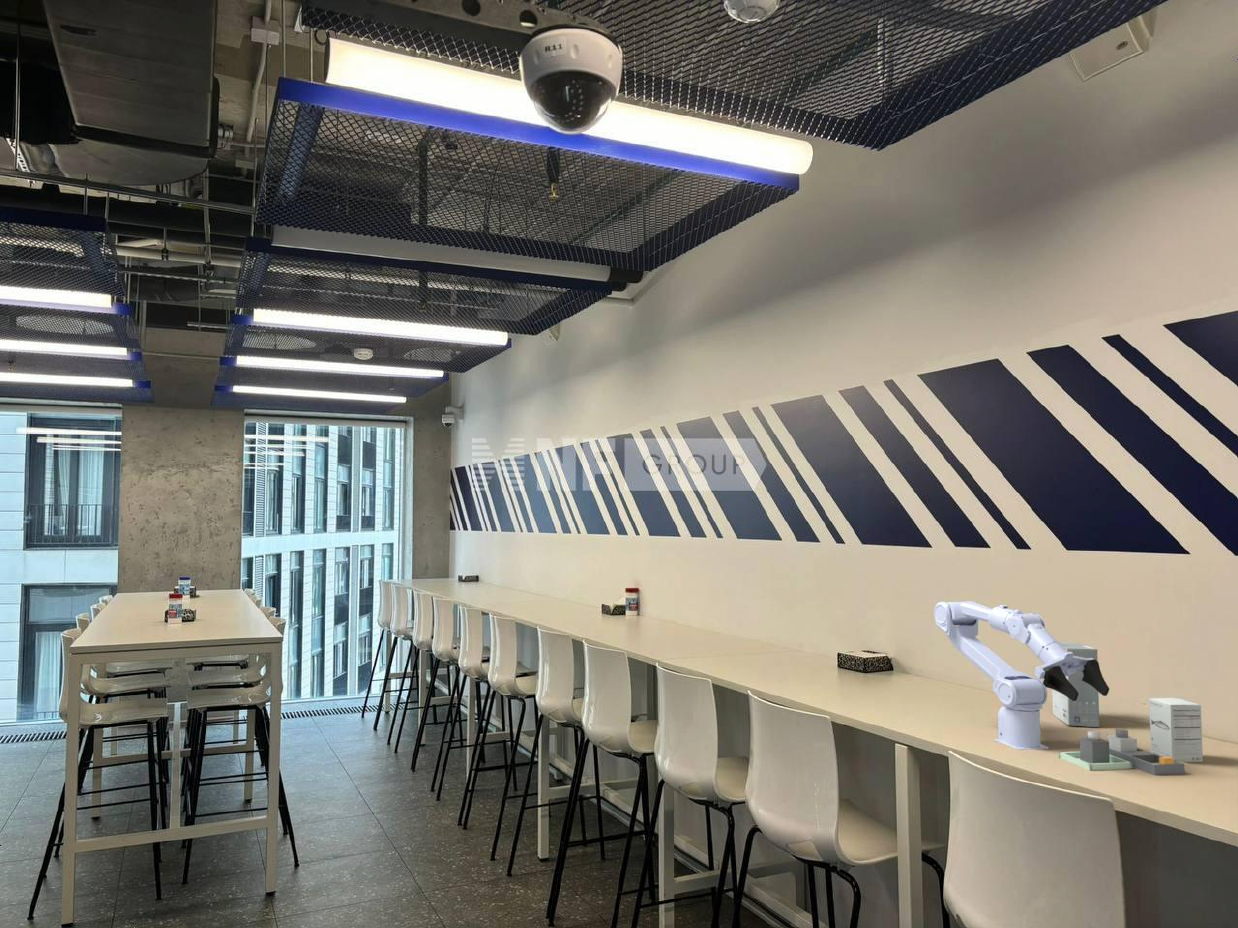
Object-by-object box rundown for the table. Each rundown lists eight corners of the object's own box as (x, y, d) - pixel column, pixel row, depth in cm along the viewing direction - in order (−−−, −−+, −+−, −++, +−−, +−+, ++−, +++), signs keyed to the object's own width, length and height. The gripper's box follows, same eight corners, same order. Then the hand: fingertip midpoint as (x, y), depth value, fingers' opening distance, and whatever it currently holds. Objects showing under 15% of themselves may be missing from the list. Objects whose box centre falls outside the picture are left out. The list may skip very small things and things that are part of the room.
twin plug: (1108, 757, 197) (1107, 728, 198) (1124, 757, 198) (1123, 727, 198) (1121, 762, 193) (1120, 732, 194) (1137, 761, 194) (1136, 731, 194)
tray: (1058, 760, 195) (1058, 752, 195) (1099, 758, 196) (1099, 750, 196) (1089, 772, 185) (1089, 764, 185) (1132, 770, 186) (1132, 762, 187)
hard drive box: (1100, 728, 226) (1098, 649, 227) (1068, 726, 228) (1066, 648, 229) (1081, 715, 241) (1079, 641, 243) (1051, 714, 243) (1049, 640, 244)
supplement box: (1149, 754, 201) (1147, 697, 201) (1180, 753, 201) (1178, 697, 202) (1172, 762, 193) (1170, 704, 194) (1204, 762, 194) (1202, 703, 195)
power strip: (1094, 754, 199) (1093, 738, 200) (1122, 753, 201) (1121, 737, 201) (1154, 777, 182) (1154, 758, 182) (1184, 775, 183) (1184, 757, 183)
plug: (1080, 760, 192) (1079, 730, 193) (1096, 760, 193) (1095, 729, 193) (1092, 765, 188) (1091, 734, 189) (1109, 765, 189) (1108, 734, 189)
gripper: (1027, 642, 196) (1067, 685, 184) (1083, 634, 199) (1126, 676, 187) (1018, 666, 199) (1058, 710, 188) (1074, 658, 202) (1116, 700, 191)
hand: (1091, 694), depth 188 cm, fingers open, 7 cm apart
